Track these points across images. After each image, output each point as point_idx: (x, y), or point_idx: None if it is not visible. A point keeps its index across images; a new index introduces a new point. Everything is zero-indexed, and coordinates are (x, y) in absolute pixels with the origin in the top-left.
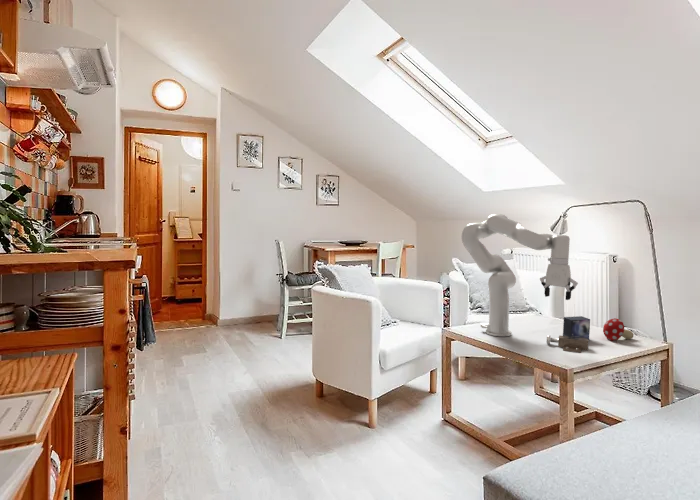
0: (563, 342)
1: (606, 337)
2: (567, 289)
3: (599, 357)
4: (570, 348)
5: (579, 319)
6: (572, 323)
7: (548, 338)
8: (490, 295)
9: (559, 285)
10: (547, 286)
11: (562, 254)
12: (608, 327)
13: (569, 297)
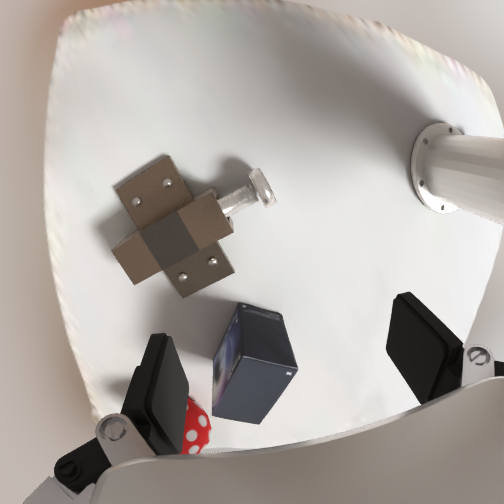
0: (194, 199)
1: (191, 399)
2: (127, 439)
3: (62, 199)
4: (155, 185)
5: (230, 387)
6: (239, 348)
7: (254, 173)
8: None
9: (231, 467)
10: (458, 381)
11: None
12: None
13: (136, 369)
